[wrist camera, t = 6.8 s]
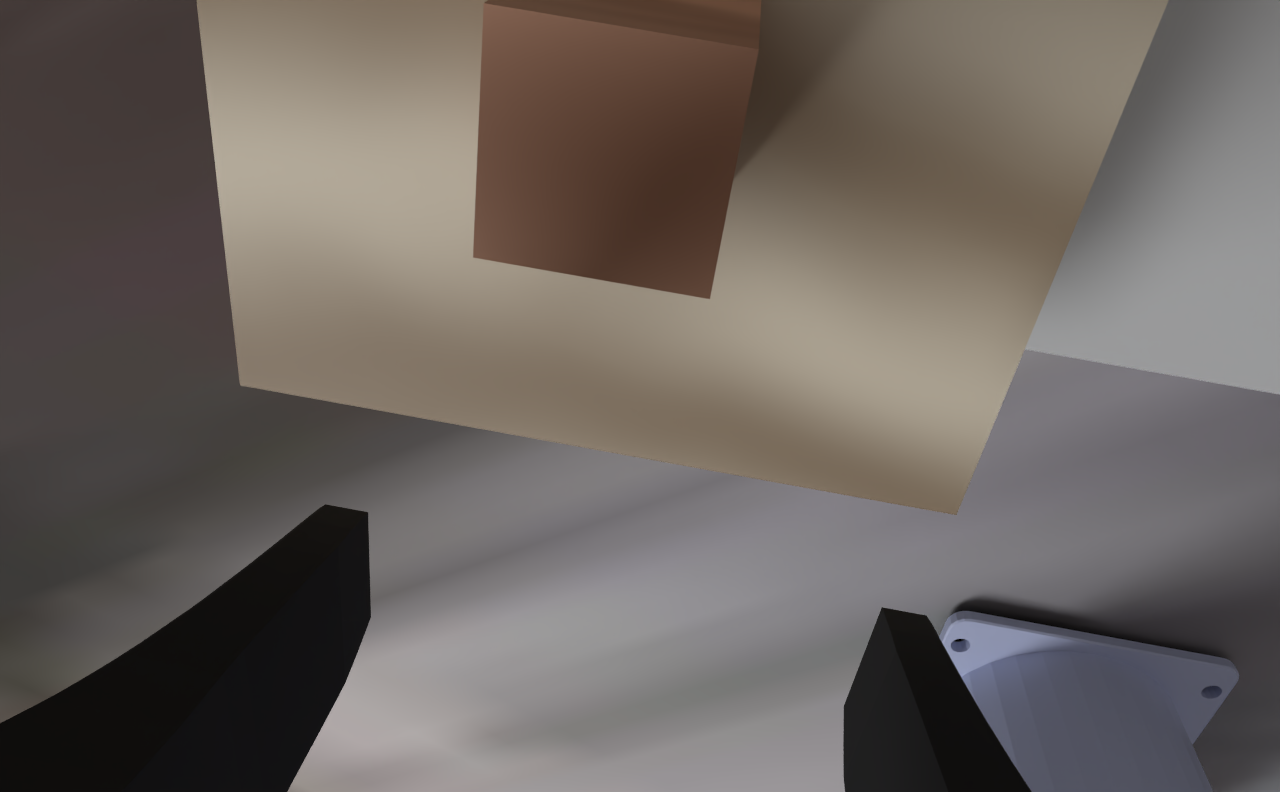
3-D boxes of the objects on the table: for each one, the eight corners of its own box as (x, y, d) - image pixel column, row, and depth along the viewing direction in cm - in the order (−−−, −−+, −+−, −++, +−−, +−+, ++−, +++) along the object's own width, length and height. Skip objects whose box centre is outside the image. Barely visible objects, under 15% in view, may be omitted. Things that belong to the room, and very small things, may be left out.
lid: (949, 489, 18) (1000, 679, 14) (259, 364, 19) (119, 515, 15) (1322, -445, 11) (1647, -598, 7) (161, -620, 11) (-179, -863, 7)
